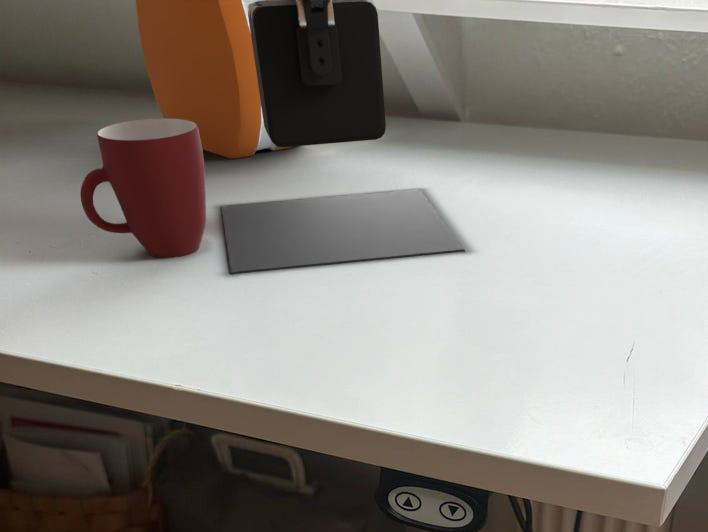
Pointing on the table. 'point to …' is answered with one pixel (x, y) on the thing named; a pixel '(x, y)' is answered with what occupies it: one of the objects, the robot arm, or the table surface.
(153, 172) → the mug
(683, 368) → the table surface
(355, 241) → the desk mat
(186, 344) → the table surface
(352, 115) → the electronic device
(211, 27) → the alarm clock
